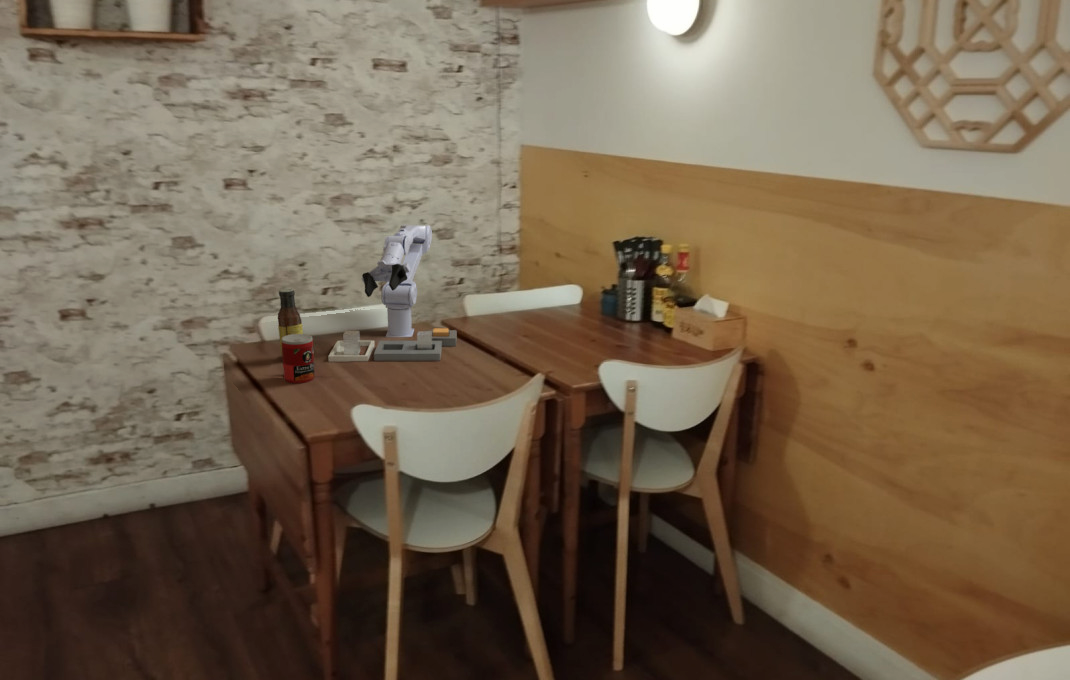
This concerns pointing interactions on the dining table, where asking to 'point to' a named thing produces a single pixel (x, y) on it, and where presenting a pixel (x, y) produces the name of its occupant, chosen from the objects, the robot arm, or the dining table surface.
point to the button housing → (447, 338)
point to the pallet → (406, 351)
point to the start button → (441, 332)
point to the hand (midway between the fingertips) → (379, 290)
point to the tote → (339, 356)
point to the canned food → (298, 358)
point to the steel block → (351, 342)
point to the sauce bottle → (288, 315)
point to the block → (424, 340)
